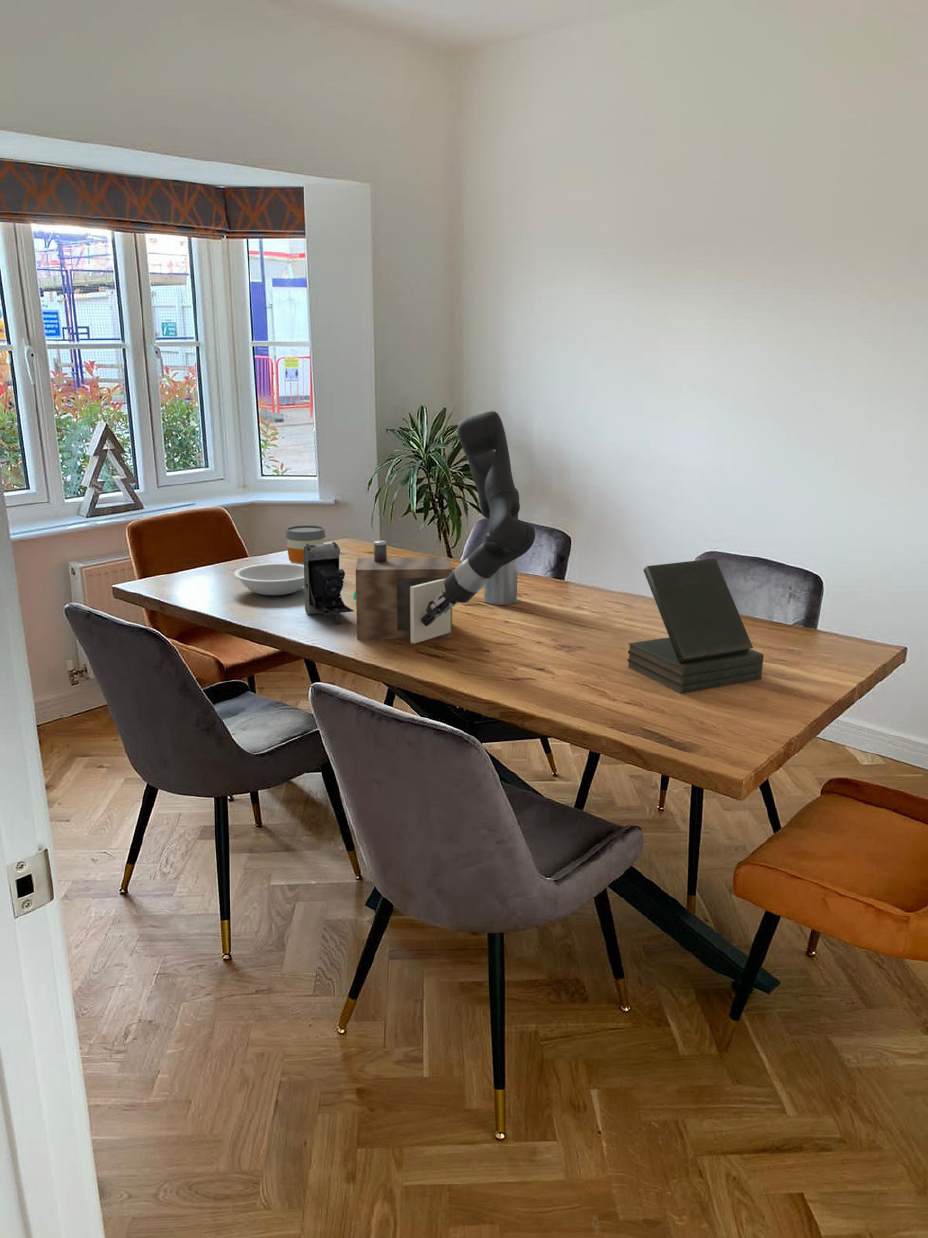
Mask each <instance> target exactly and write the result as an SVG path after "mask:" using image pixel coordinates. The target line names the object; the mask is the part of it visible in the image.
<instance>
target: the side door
mask: <svg viewBox="0 0 928 1238" xmlns="http://www.w3.org/2000/svg"><path fill="white" fill-rule="evenodd" d="M445 579H446V578H444V579H439V580H435V581H431V582H427V583H423V584H419V585H415V586H411V587H410V627H411V639H410V644H418V643H421V642H423V641H427V640H429V639H435V638H434V637H437V636H440V635H443V634H447V633H450V632H452V633H453V607H452V608H451V609H450V610H449V611H447V612H446V613H442V614H441V616H439V617H437V618H436V619H435V620H434V621H433V622H432V623H431V624H430V625H428V626H425V625H424V624H423V623H422V621H421V619H422V618H423V617H424V616H425V615H426V614H427V613H428V612H427V611H426V609H427V606H428V604H429V603H430V601H435V600H436V599H437V597H438V595H439V594H440V593H441V592H442V591H444V592H445V586H444V581H445Z"/></svg>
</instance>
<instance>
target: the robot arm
mask: <svg viewBox="0 0 928 1238" xmlns="http://www.w3.org/2000/svg"><path fill="white" fill-rule="evenodd" d="M457 435H458V441H459V444H460V445H461V448H462V451H463V454H464V455H465V457H466V459H467V462H468V465H469V469H470V473H471V478H472V480H473V482H474V483H473V484H474V485H475V488H476V491H477V495H478V500H479V501H478V502H479V507H480V512H481V514H482V517H484V518H485V519H488V532H486V533H485V535H484V542H482V543H481V544H480V545H479V546H478V547H477V548H475V549H474V551H473V552H471V554H470V555H469V556H468V557H466V558H465V559H464V560H463V561H461V562H460V563H459V564H458V565H457V566H456V568H455V569H454V570H452V573H451V574H450V575H449V576H448V577H447V578H446V579H445V581H444V586H445V592H444V591H442V592H441V593H440V594H439V595H438V597H437V599H436V600H435V601H430V603H429V604H428V606H427V609H426V611H427V612H428V613H427V614H426V615H425V616H424V617H423V618H422V619H421V621H422V623H423V624H424V625H425V626H428V625H430V624H431V623H432V622H433V621H434V620H435V619H436V618H437V617H439V616H441V614H442V613H446V612H447V611H449V610H450V609H451V608H452V609H453V607H454V606H457V604H459V603H460V604H461V603H463V604H464V603H468V602H469V601H470V600H471V599H472V598H473V597H475V595H476V594H477V593H479V592H480V590H481V589H482V588H483V587H484V588H483V589H484V592H483V595H484V596H483V597H484V599H483V600H484V602H485V604H486V603H487V604H490V605H496V606H497V605H501V606H502V605H511V604H518V570H517V568H518V566H517V563H518V561H517V560H518V558H520V557H521V556H523V555H524V554H526V553H527V552H528V551H530V549H531V548H532V546H533V545H534V543H535V540H536V530H535V527H533V525H532V524H530V523H528V522H527V521H523V520H521V519H519V512H520V509H521V504H520V494H519V490H518V489H517V488H516V487H515V482H514V478H513V473H512V464H511V457H510V453H509V452H510V451H509V445H508V440H507V436H506V431H505V427H504V424H503V421H502V419H501V416H500V415H499V413H497V412H496V411H494V410H491V411H485V412H482V413H479V414H476V415H472V416H469V417H466V418H464V419H461V420H460V421H459V423H458V425H457Z"/></svg>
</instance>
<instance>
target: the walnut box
mask: <svg viewBox="0 0 928 1238" xmlns="http://www.w3.org/2000/svg"><path fill="white" fill-rule="evenodd" d="M356 561H357V562H356V565H355V590H356V600H355V601H356V606H355V607H356V639H357V640H404V639H406V640H407V639H410V640H411V627H410V587H411V586H415V585H419V584H423V583H427V582H431V581H435V580H439V579H444V578H447V577H448V576H449V575H450V574H451V573H452V572H453V566H452V562H451V559H450V556H442V557H441V556H439V557H438V556H435V557H434V556H430V557H429V556H427V557H426V556H425V557H423V556H421V557H419V556H418V557H410V556H409V557H407V556H406V557H387V561H386V562H375V561H374V557H357V560H356ZM433 639H453V631H452V632H450V633H447V634H443V635H440V636H437V637H434V638H433Z"/></svg>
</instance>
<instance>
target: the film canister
mask: <svg viewBox="0 0 928 1238" xmlns="http://www.w3.org/2000/svg"><path fill="white" fill-rule="evenodd" d="M387 544H388V542H387V541H386V540H375V541H373V558H374V561H375V562H386V561H387V558H388V556H387V554H388V553H387V552H388V551H387V550H388V549H387Z"/></svg>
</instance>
